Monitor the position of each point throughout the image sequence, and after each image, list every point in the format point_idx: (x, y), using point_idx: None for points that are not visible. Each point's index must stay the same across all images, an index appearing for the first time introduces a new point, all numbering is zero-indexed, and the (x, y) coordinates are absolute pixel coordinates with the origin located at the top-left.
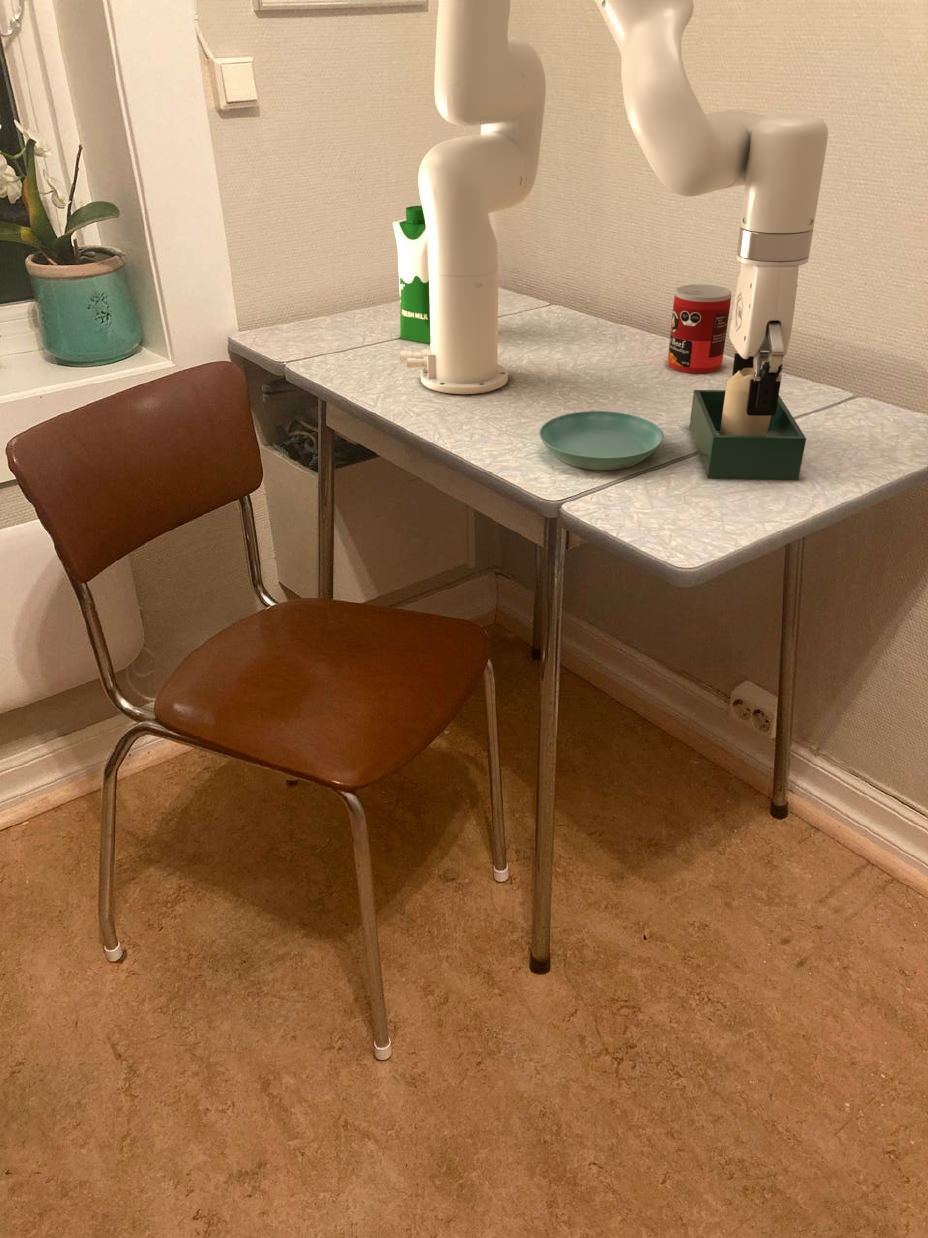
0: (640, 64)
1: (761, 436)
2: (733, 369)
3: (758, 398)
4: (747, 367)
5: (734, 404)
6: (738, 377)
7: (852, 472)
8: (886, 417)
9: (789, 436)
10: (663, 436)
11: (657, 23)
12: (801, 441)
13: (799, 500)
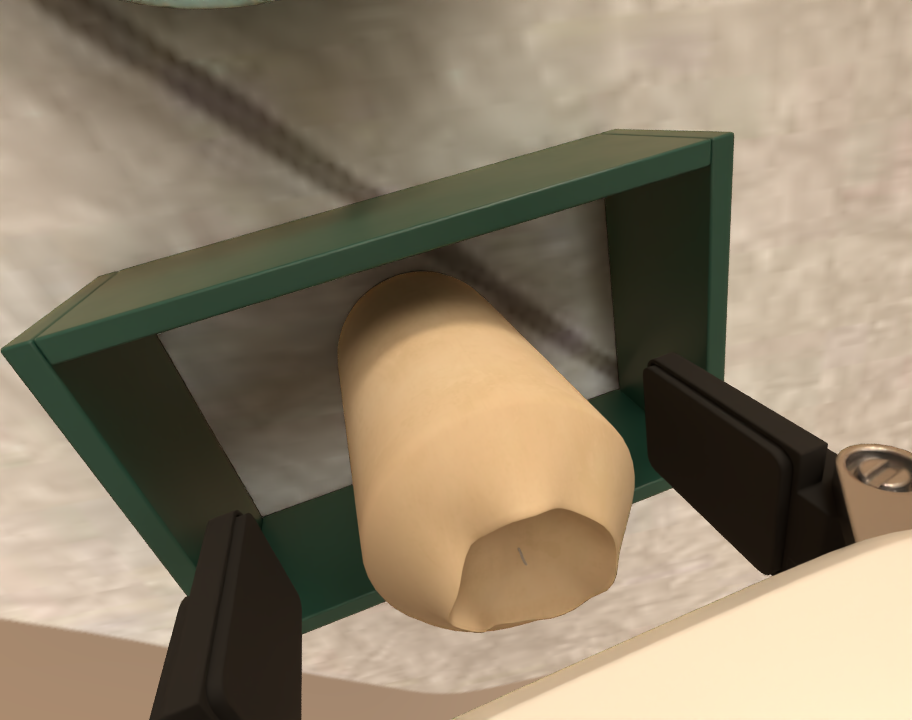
0: None
1: (165, 539)
2: (721, 395)
3: (170, 653)
4: (716, 475)
5: (369, 423)
6: (472, 502)
7: (371, 616)
8: (720, 594)
9: None
10: (232, 6)
11: None
12: None
13: (86, 566)
